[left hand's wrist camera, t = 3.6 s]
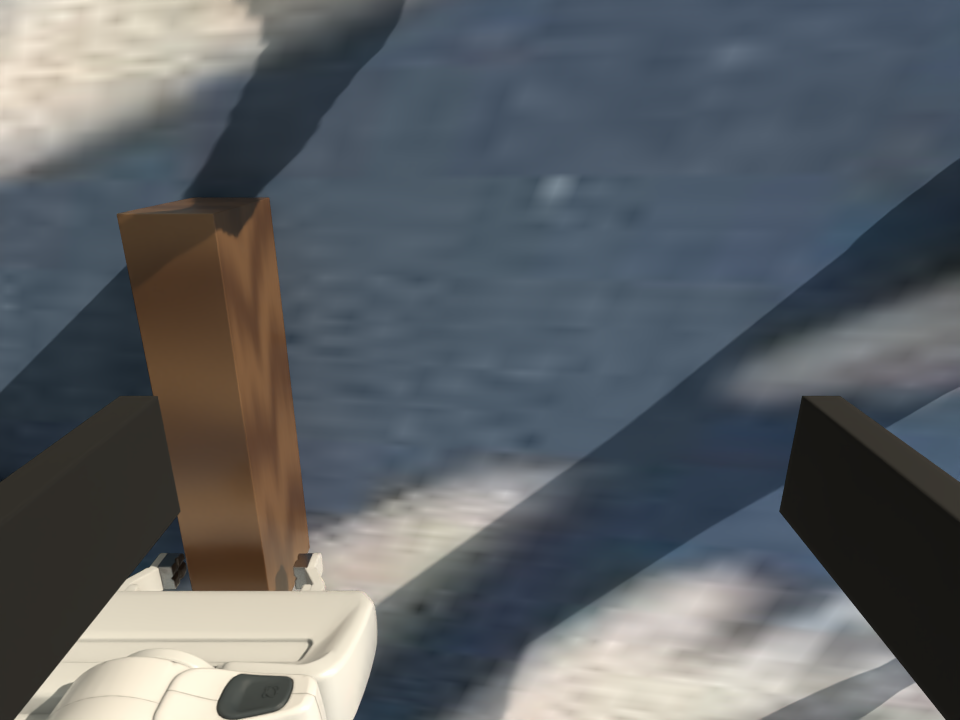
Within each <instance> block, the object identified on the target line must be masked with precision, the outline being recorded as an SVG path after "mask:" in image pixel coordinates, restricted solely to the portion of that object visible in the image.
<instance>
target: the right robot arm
mask: <svg viewBox="0 0 960 720" xmlns="http://www.w3.org/2000/svg"><path fill="white" fill-rule="evenodd" d="M184 559H185V557H184V554H182V553H161V554H159V555H158V557H157V558H156V559H155V561H154V562H153V563H152V565H151V566H150V567H149V568H146V569H144V570H142V571H141V572H139V573H137V574H135V575H133V576H131V577H130V578H128V579H126V581H125V582H124V583H123V584H122V586H121V587H120V588H119V589H118V591H117V592H116V593H115V594H114V596H113V597H112V598H111V599H110V601H109V602H108V603H107V604H106V606H105V607H104V608H103V609H102V611H101V612H100V613H99V614H98V616H97V617H96V618H95V619H94V621H93V622H92V623H91V624H90V626H89V627H88V628H87V629H86V631H85V632H84V633H83V634H82V636H81V637H80V638H79V639H78V641H77V642H76V643H75V644H74V646H73V647H72V648H71V649H70V651H69V652H68V653H67V654H66V656H65V657H64V658H63V659H62V661H61V662H60V663H59V664H58V666H57V667H56V668H55V669H54V671H53V672H52V673H51V674H50V676H49V677H48V678H47V679H46V681H45V682H44V683H43V684H42V686H41V687H40V688H39V689H38V691H37V692H36V693H35V694H34V696H33V697H32V698H31V699H30V701H29V702H28V703H27V704H26V706H25V707H24V708H23V709H22V711H21V712H20V713H19V714H18V716H17V717H16V718H15V719H14V720H353V719H354V716H355V714H356V712H357V710H358V707H359V704H360V702H361V699H362V696H363V694H364V691H365V688H366V685H367V682H368V678H369V675H370V672H371V668H372V664H373V660H374V656H375V652H376V646H377V618H376V610H375V605H374V603H373V602H372V600H371V599H370V598H369V597H368V595H367V594H366V593H364V592H363V591H326V590H325V583H324V581H323V580H322V578H321V577H322V572H323V563H322V555H321V553H300V554H298V560H296V561H295V564H294V566H293V573H294V576H295V577H296V579H295V588H296V589H301V591H163V589H176V588H177V587H178V585H179V584H180V579H182V578H183V577H184V576H185V574H186V570H187V566H186V563H185V562H184V561H183V560H184Z"/></svg>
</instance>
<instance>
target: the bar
mask: <svg viewBox="0 0 960 720" xmlns="http://www.w3.org/2000/svg"><path fill="white" fill-rule="evenodd" d="M117 218H118V223H119V228H120V233H121V238H122V243H123V248H124V253H125V258H126V263H127V268H128V273H129V278H130V283H131V288H132V293H133V298H134V303H135V308H136V313H137V318H138V323H139V328H140V333H141V338H142V343H143V348H144V353H145V358H146V363H147V367H148V372H149V377H150V382H151V387H152V392H153V396H158V400H159V405H160V410H161V415H162V420H163V425H164V430H165V435H166V440H167V445H168V450H169V455H170V460H171V465H172V470H173V475H174V480H175V486H176V491H177V496H178V501H179V506H180V511H181V512H180V513H179V514H178V515H177V517H178V522H179V527H180V532H181V537H182V542H183V547H184V552H185V557H186V562H187V567H188V572H189V577H190V582H191V586H192V591H292V589H293V587H294V584H295V579H296V577H295V576H294V573H293V566H294V564H295V561H296V560H298V554H300V553H308V551H309V548H310V546H309V538H308V529H307V520H306V512H305V503H304V494H303V486H302V477H301V468H300V460H299V451H298V443H297V434H296V425H295V417H294V408H293V399H292V391H291V382H290V373H289V365H288V356H287V347H286V339H285V330H284V321H283V313H282V304H281V295H280V287H279V278H278V269H277V261H276V252H275V243H274V235H273V226H272V217H271V209H270V200H269V198H189V199H184V200H179V201H175V202H170V203H165V204H160V205H156V206H151V207H146V208H142V209H137V210H132V211H127V212H123V213H118V214H117Z"/></svg>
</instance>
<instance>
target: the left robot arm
mask: <svg viewBox="0 0 960 720" xmlns="http://www.w3.org/2000/svg"><path fill="white" fill-rule="evenodd" d="M180 512H181V511H180V506H179V501H178V496H177V491H176V486H175V480H174V475H173V470H172V465H171V460H170V455H169V450H168V445H167V440H166V435H165V430H164V425H163V420H162V415H161V410H160V405H159V400H158V396H119V397H118V398H117V399H115V400H114V401H113V402H111V403H110V404H108V405H107V406H106V407H104V408H103V409H101V410H100V411H99V412H97V413H96V414H94V415H93V416H92V417H90V418H89V419H87V420H86V421H85V422H83V423H82V424H81V425H79V426H78V427H76V428H75V429H74V430H72V431H71V432H69V433H68V434H67V435H65V436H64V437H62V438H61V439H60V440H58V441H57V442H56V443H54V444H53V445H51V446H50V447H49V448H47V449H46V450H44V451H43V452H42V453H40V454H39V455H37V456H36V457H35V458H33V459H32V460H31V461H29V462H28V463H26V464H25V465H24V466H22V467H21V468H19V469H18V470H17V471H15V472H14V473H12V474H11V475H10V476H8V477H7V478H6V479H4V480H3V481H1V482H0V720H14V719H15V718H16V717H17V716H18V714H19V713H20V712H21V711H22V709H23V708H24V707H25V706H26V704H27V703H28V702H29V701H30V699H31V698H32V697H33V696H34V694H35V693H36V692H37V691H38V689H39V688H40V687H41V686H42V684H43V683H44V682H45V681H46V679H47V678H48V677H49V676H50V674H51V673H52V672H53V671H54V669H55V668H56V667H57V666H58V664H59V663H60V662H61V661H62V659H63V658H64V657H65V656H66V654H67V653H68V652H69V651H70V649H71V648H72V647H73V646H74V644H75V643H76V642H77V641H78V639H79V638H80V637H81V636H82V634H83V633H84V632H85V631H86V629H87V628H88V627H89V626H90V624H91V623H92V622H93V621H94V619H95V618H96V617H97V616H98V614H99V613H100V612H101V611H102V609H103V608H104V607H105V606H106V604H107V603H108V602H109V601H110V599H111V598H112V597H113V596H114V594H115V593H116V592H117V591H118V589H119V588H120V587H121V586H122V584H123V583H124V582H125V581H126V579H127V578H128V577H129V576H130V574H131V573H132V572H133V571H134V569H135V568H136V567H137V566H138V564H139V563H140V562H141V561H142V559H143V558H144V557H145V556H146V554H147V553H148V552H149V551H150V549H151V548H152V547H153V545H154V544H155V543H156V542H157V540H158V539H159V538H160V537H161V535H162V534H163V533H164V532H165V530H166V529H167V528H168V527H169V525H170V524H171V523H172V522H173V520H174V519H175V518H176V517H177V515H178V514H179V513H180ZM779 512H780V513H781V514H782V515H783V517H784V518H785V519H786V520H787V522H788V523H789V524H790V525H791V527H792V528H793V529H794V530H795V532H796V533H797V534H798V535H799V537H800V538H801V539H802V540H803V542H804V543H805V544H806V545H807V547H808V548H809V549H810V551H811V552H812V553H813V554H814V556H815V557H816V558H817V559H818V561H819V562H820V563H821V564H822V566H823V567H824V568H825V569H826V571H827V572H828V573H829V574H830V576H831V577H832V578H833V579H834V581H835V582H836V583H837V584H838V586H839V587H840V588H841V589H842V591H843V592H844V593H845V594H846V596H847V597H848V598H849V599H850V601H851V602H852V603H853V604H854V606H855V607H856V608H857V609H858V611H859V612H860V613H861V614H862V616H863V617H864V618H865V619H866V621H867V622H868V623H869V624H870V626H871V627H872V628H873V629H874V631H875V632H876V633H877V634H878V636H879V637H880V638H881V639H882V641H883V642H884V643H885V644H886V646H887V647H888V648H889V649H890V651H891V652H892V653H893V654H894V656H895V657H896V658H897V659H898V661H899V662H900V663H901V664H902V666H903V667H904V668H905V669H906V671H907V672H908V673H909V674H910V676H911V677H912V678H913V679H914V681H915V682H916V683H917V684H918V686H919V687H920V688H921V689H922V691H923V692H924V693H925V694H926V696H927V697H928V698H929V699H930V701H931V702H932V703H933V704H934V706H935V707H936V708H937V709H938V711H939V712H940V713H941V714H942V716H943V717H944V718H945V719H946V720H960V482H959V481H957V480H956V479H954V478H953V477H952V476H950V475H949V474H948V473H946V472H945V471H943V470H942V469H941V468H939V467H938V466H936V465H935V464H934V463H932V462H931V461H929V460H928V459H927V458H925V457H924V456H923V455H921V454H920V453H918V452H917V451H916V450H914V449H913V448H911V447H910V446H909V445H907V444H906V443H904V442H903V441H902V440H900V439H899V438H898V437H896V436H895V435H893V434H892V433H891V432H889V431H888V430H886V429H885V428H884V427H882V426H881V425H879V424H878V423H877V422H875V421H874V420H873V419H871V418H870V417H868V416H867V415H866V414H864V413H863V412H861V411H860V410H859V409H857V408H856V407H854V406H853V405H852V404H850V403H849V402H847V401H846V400H845V399H843V398H842V397H841V396H802V400H801V405H800V410H799V415H798V420H797V425H796V430H795V435H794V440H793V445H792V450H791V455H790V460H789V465H788V470H787V475H786V480H785V485H784V491H783V496H782V501H781V506H780V511H779Z"/></svg>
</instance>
